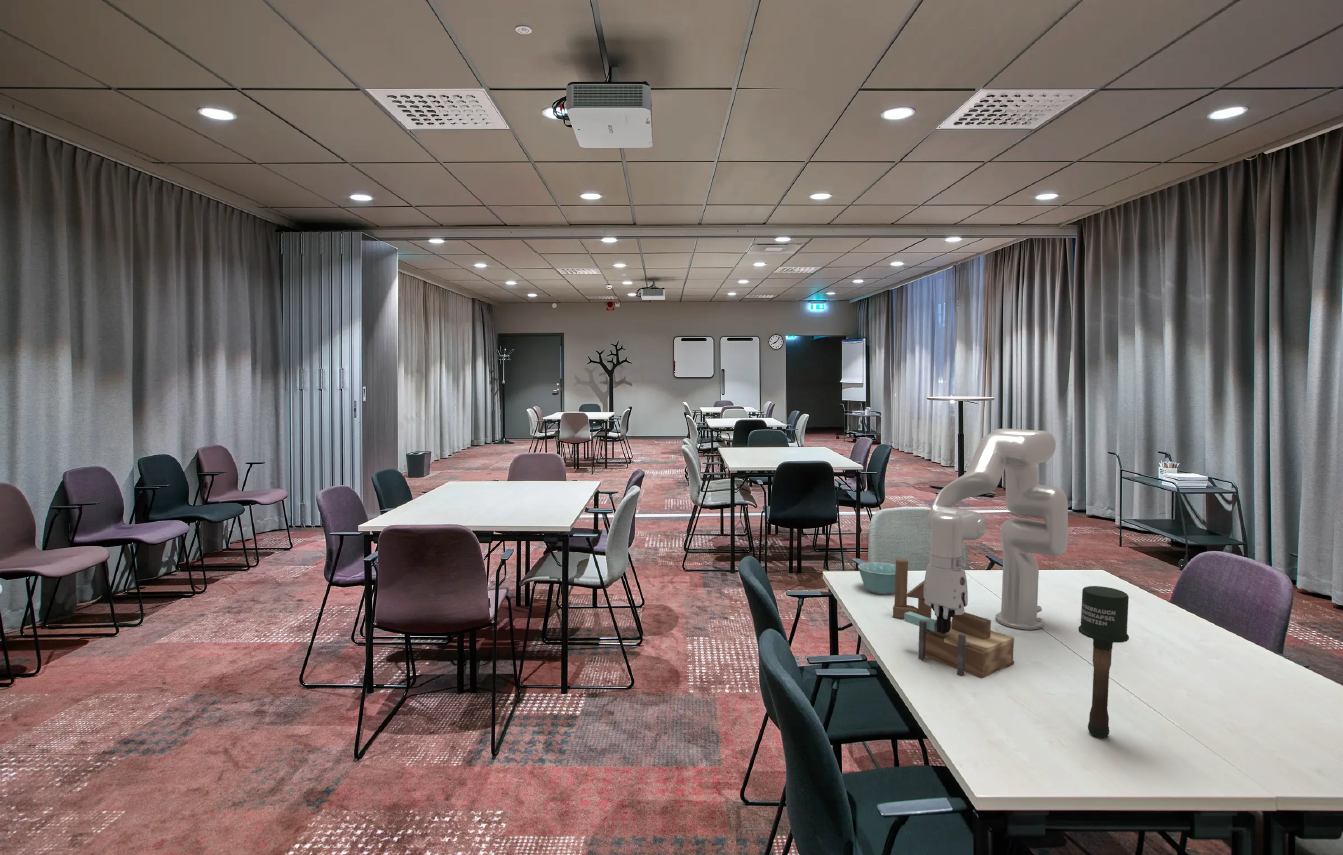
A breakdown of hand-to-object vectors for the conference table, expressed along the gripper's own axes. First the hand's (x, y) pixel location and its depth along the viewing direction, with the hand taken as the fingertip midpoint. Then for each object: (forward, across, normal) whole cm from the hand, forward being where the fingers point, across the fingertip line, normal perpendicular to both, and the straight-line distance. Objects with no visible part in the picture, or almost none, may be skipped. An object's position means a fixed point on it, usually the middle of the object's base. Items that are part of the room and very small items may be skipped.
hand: (943, 631), depth 170 cm
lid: (+3, -3, -6) cm, 8 cm away
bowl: (+8, +47, -36) cm, 60 cm away
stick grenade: (+8, -39, +6) cm, 40 cm away
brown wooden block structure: (+8, +24, -21) cm, 33 cm away
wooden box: (+8, -3, -6) cm, 10 cm away
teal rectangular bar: (0, +6, 0) cm, 6 cm away
